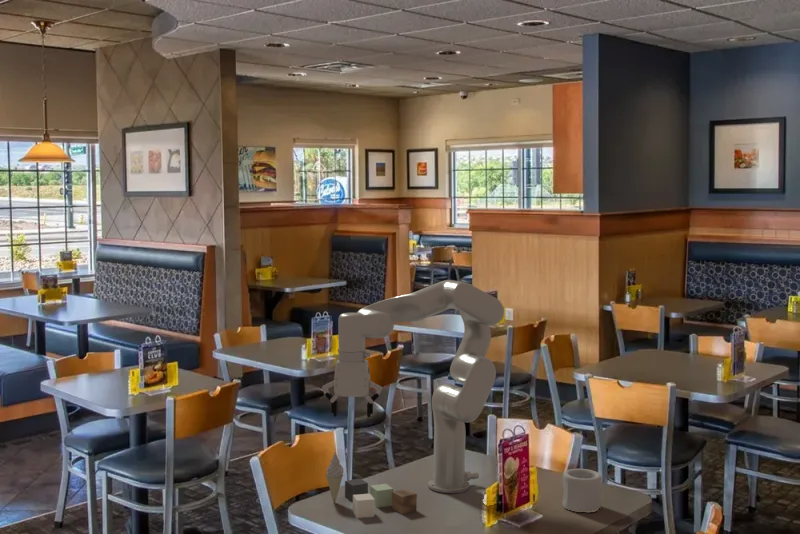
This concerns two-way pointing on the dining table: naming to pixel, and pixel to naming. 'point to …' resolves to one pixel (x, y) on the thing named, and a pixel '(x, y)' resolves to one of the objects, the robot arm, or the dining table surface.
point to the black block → (355, 488)
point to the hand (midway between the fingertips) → (352, 415)
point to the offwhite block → (363, 505)
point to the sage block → (381, 495)
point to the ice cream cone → (334, 476)
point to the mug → (581, 490)
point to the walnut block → (404, 501)
